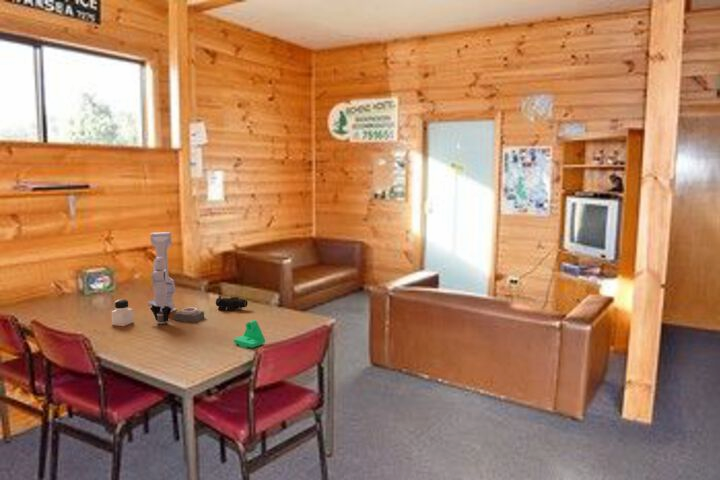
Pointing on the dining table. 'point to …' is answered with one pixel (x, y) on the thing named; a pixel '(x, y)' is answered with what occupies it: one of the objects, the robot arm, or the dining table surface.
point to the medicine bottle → (122, 313)
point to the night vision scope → (230, 303)
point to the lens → (160, 318)
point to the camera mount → (251, 336)
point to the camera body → (189, 315)
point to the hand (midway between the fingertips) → (162, 320)
